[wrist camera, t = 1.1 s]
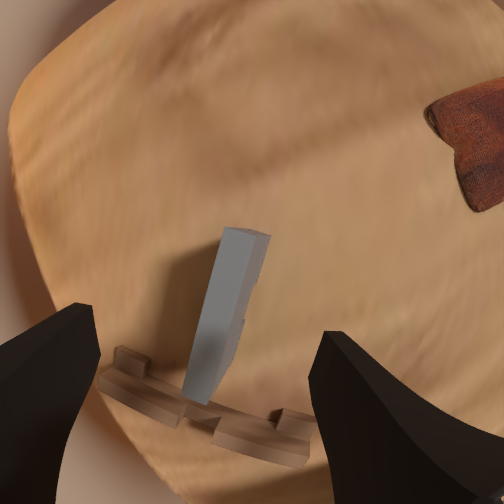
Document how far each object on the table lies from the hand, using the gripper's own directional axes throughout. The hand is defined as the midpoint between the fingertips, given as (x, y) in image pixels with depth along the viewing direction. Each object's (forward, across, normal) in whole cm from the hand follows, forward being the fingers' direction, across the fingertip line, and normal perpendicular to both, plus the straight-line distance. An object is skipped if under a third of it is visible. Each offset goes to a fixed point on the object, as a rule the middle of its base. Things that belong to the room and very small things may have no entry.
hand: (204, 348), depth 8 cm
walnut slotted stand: (+9, 0, +15) cm, 18 cm away
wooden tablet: (+12, -28, -16) cm, 34 cm away
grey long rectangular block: (+12, -2, +5) cm, 13 cm away
